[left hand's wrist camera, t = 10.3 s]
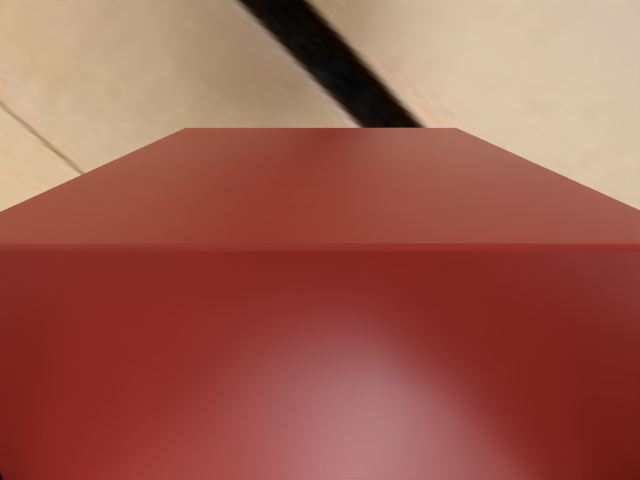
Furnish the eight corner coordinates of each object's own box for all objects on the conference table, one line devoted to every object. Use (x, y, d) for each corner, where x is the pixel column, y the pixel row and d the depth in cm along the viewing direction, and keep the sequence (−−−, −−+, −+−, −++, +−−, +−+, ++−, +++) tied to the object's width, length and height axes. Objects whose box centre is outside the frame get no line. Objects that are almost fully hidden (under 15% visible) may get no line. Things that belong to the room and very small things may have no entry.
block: (208, 363, 18) (78, 710, 8) (183, 127, 15) (-82, 246, 5) (432, 363, 18) (564, 709, 8) (458, 127, 15) (725, 245, 5)
